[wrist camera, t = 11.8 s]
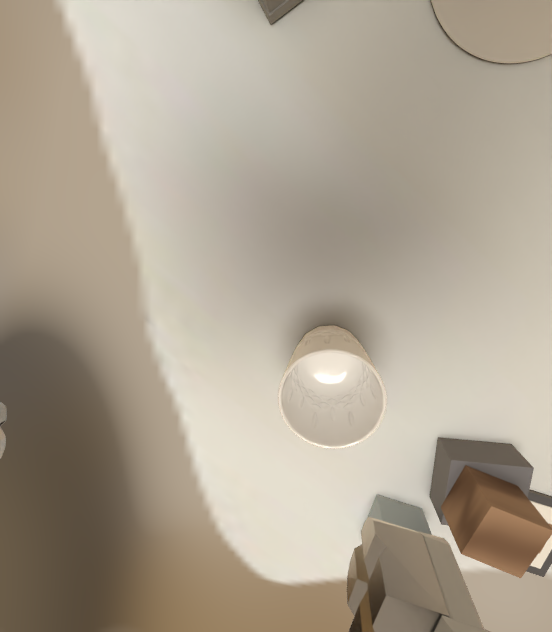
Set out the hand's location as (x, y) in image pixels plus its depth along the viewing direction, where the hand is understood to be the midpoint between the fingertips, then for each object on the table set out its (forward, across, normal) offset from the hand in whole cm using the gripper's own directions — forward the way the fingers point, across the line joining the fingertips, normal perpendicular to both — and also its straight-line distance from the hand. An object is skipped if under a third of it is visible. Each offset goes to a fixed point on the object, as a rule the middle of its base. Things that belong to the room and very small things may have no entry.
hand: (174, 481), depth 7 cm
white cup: (+28, -5, +6) cm, 29 cm away
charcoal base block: (+28, -22, +14) cm, 38 cm away
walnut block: (+24, -22, +14) cm, 35 cm away
